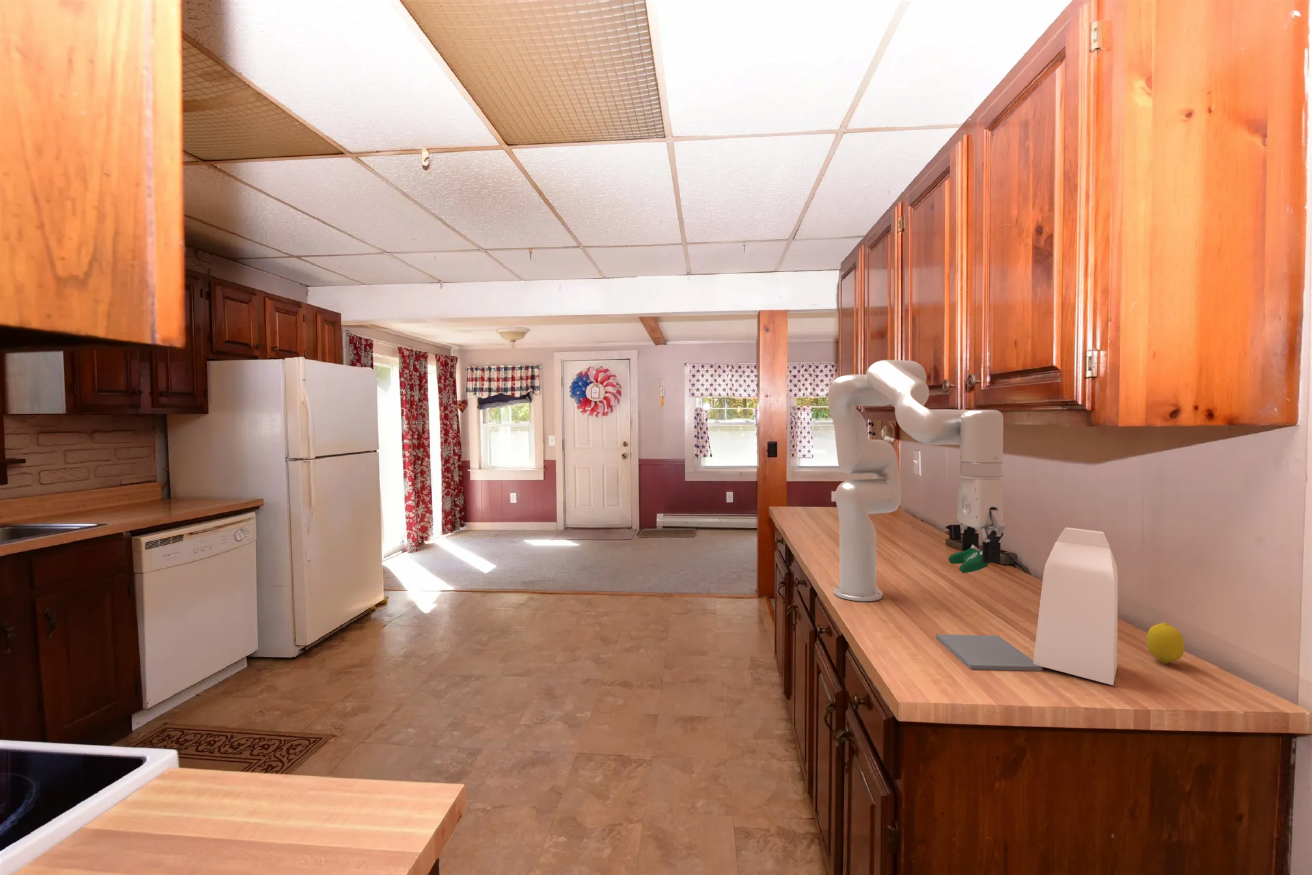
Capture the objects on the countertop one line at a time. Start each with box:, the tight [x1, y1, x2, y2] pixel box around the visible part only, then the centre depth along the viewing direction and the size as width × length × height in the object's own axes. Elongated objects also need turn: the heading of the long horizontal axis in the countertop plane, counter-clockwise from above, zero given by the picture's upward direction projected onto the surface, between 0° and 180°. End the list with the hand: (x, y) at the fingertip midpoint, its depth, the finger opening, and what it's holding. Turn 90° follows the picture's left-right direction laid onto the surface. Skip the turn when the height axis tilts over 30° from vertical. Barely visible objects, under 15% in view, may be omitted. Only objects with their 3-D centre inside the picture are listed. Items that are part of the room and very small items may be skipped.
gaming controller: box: [948, 545, 990, 574], centre depth 117 cm, size 9×4×6 cm
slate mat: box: [935, 633, 1043, 672], centre depth 117 cm, size 16×13×1 cm
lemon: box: [1145, 621, 1185, 665], centre depth 111 cm, size 6×6×8 cm
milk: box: [1032, 527, 1119, 686], centre depth 109 cm, size 12×12×26 cm
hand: (980, 556), depth 116 cm, fingers closed on gaming controller, 8 cm apart
